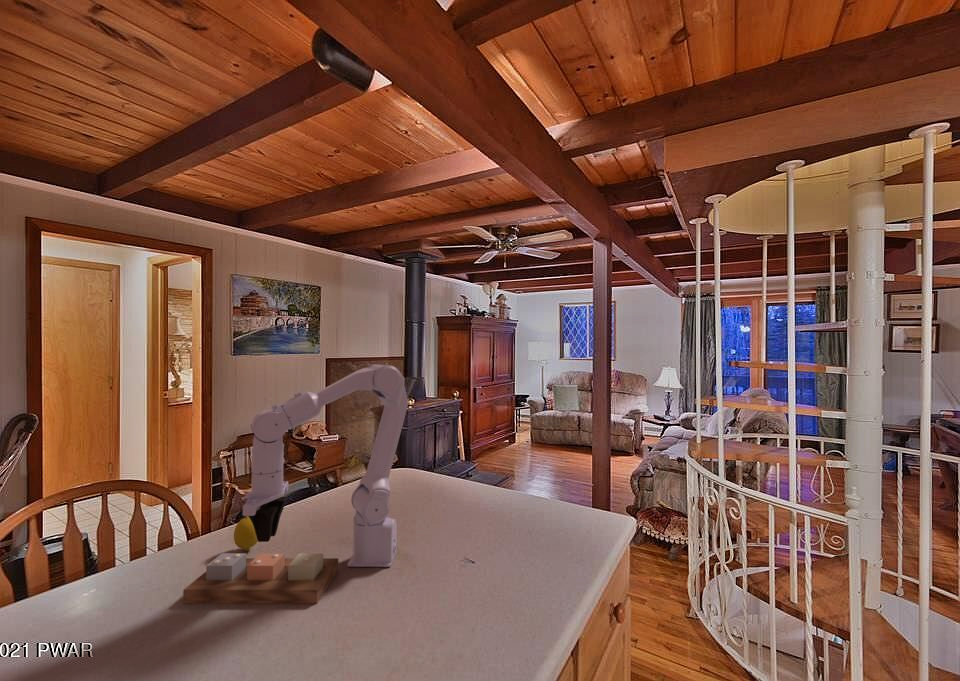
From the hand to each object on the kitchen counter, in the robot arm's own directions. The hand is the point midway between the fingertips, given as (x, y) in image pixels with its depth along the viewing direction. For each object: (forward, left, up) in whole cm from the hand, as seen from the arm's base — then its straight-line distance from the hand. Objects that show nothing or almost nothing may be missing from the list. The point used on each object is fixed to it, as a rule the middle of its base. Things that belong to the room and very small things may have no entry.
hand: (266, 538), depth 86 cm
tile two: (0, 0, -8) cm, 8 cm away
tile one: (-8, 0, -8) cm, 11 cm away
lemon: (+12, -15, -10) cm, 21 cm away
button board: (0, 0, -9) cm, 9 cm away
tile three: (+8, 0, -8) cm, 11 cm away
